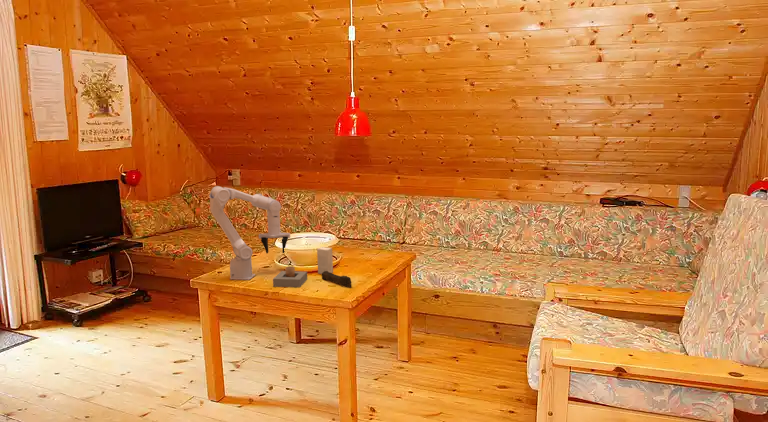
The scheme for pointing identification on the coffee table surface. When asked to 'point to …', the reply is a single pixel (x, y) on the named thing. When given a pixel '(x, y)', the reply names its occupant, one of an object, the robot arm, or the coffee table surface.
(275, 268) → the coffee table surface
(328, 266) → the skincare box
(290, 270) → the walnut peg
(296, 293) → the coffee table surface
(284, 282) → the socket stand
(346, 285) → the hand tool
